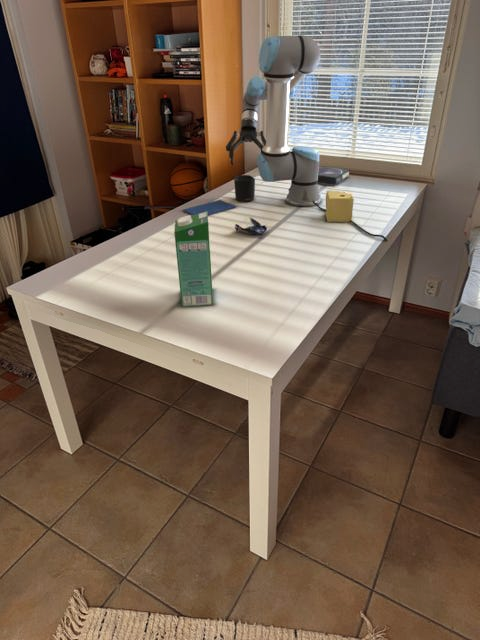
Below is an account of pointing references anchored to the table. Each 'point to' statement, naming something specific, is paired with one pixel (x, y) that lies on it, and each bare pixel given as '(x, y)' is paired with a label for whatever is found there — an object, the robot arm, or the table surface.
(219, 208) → the blue cloth
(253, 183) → the pen holder
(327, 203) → the cheese
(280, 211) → the table surface
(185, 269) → the milk carton
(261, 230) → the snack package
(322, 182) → the portable cd player
